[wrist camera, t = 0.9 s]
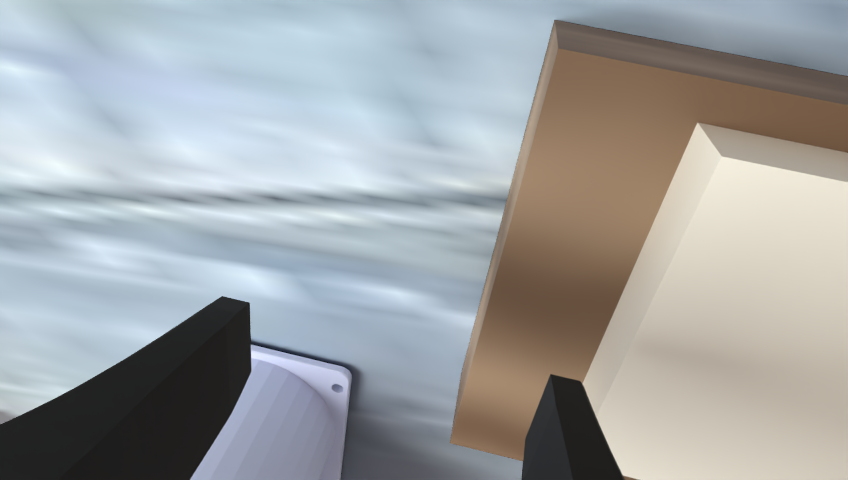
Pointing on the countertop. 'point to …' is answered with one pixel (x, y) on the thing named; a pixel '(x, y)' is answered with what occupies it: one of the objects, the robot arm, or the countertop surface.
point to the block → (734, 320)
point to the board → (606, 201)
